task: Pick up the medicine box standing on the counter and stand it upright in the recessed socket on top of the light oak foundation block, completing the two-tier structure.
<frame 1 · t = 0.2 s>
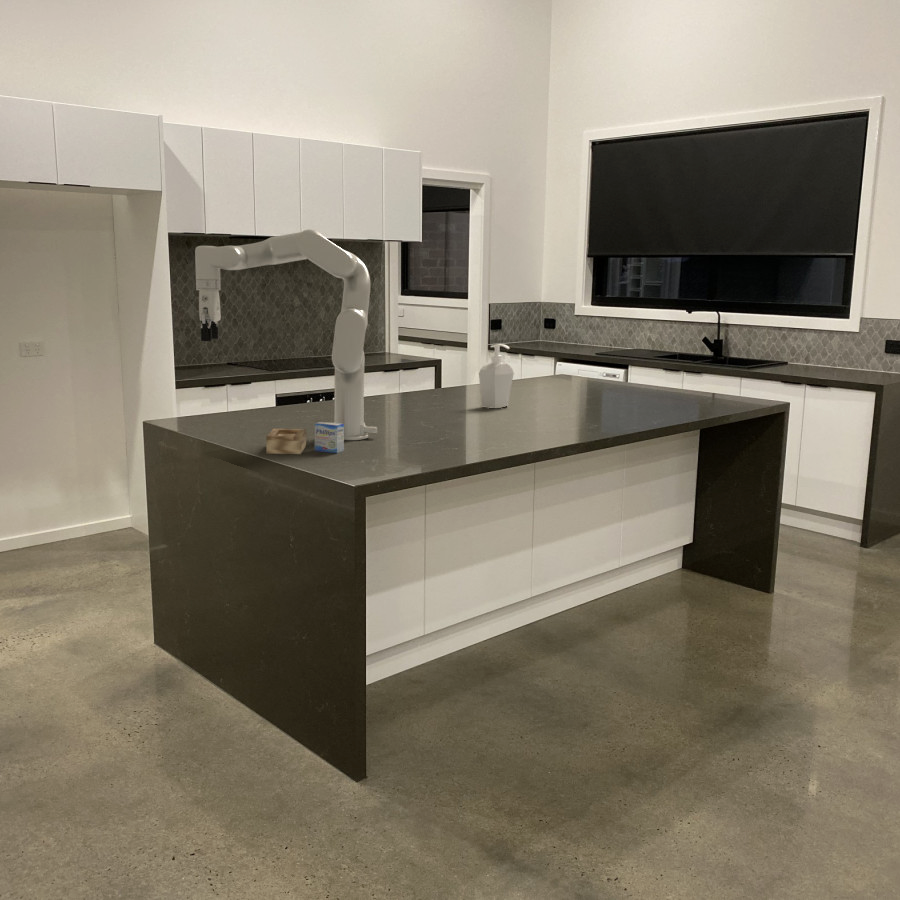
hand: (209, 339, 291), 31 cm above the table, fingers open, 9 cm apart
medicine box: (329, 451, 276), on the table
soap bottle: (496, 408, 370), on the table
oak foundation: (286, 449, 276), on the table
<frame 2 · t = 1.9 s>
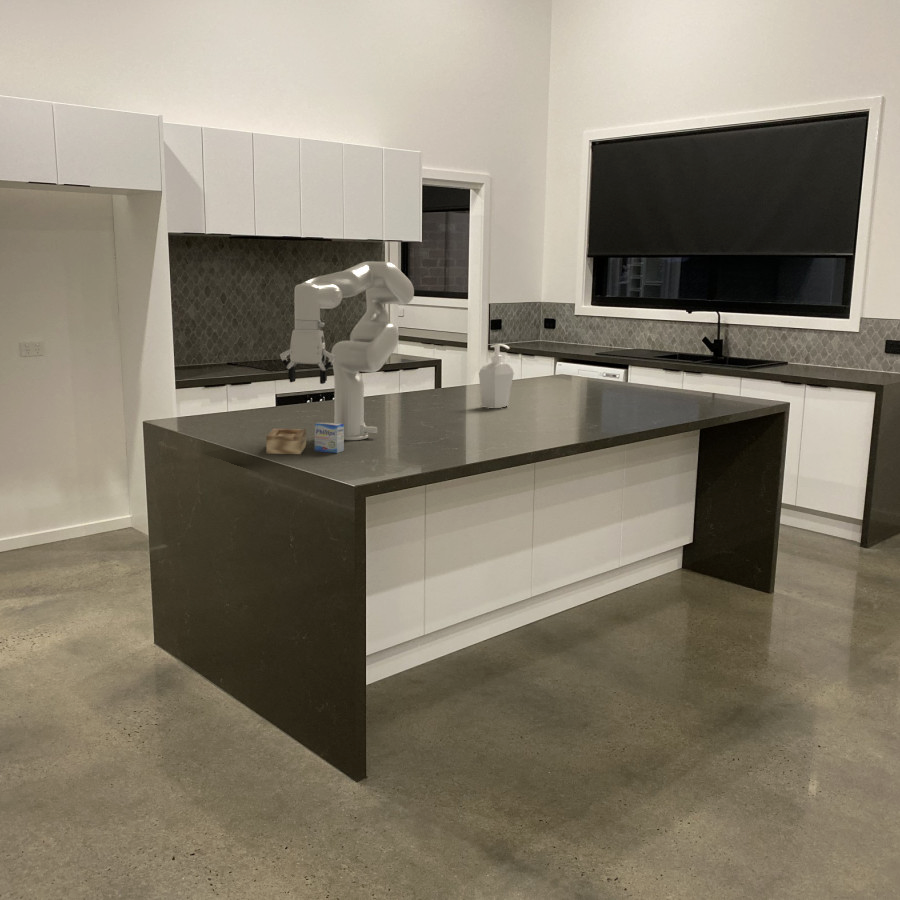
hand: (307, 382, 275), 20 cm above the table, fingers open, 9 cm apart
nothing on the table moved.
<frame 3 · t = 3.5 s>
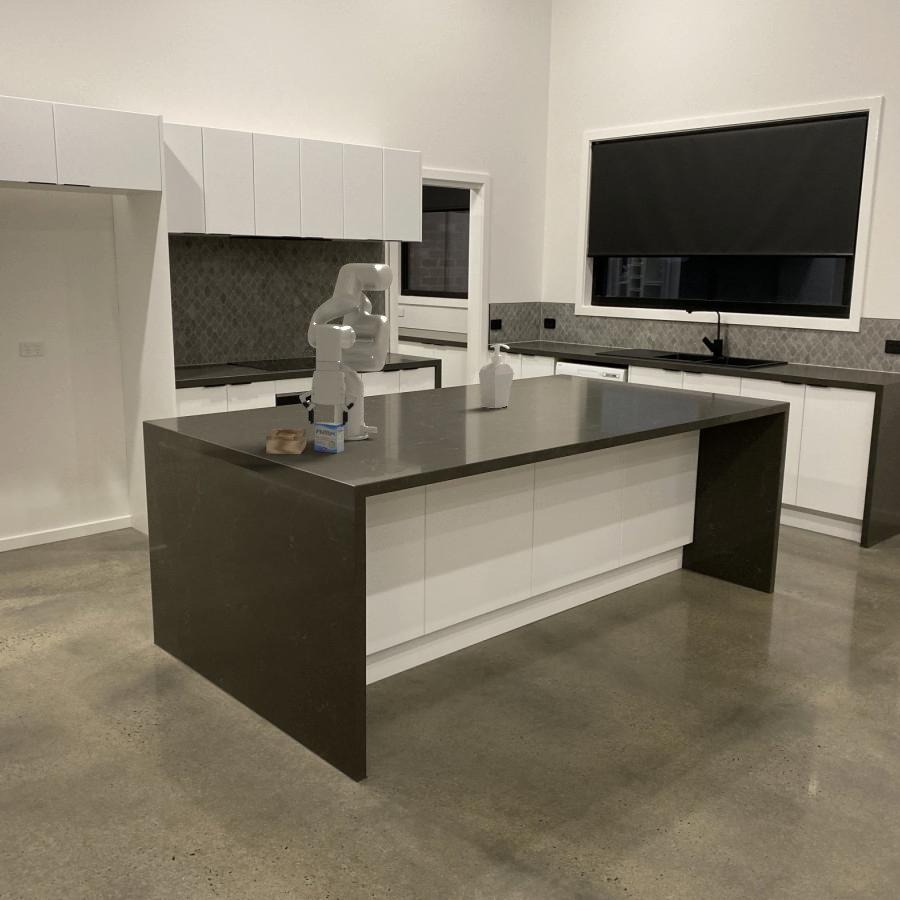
hand: (328, 424, 273), 9 cm above the table, fingers open, 9 cm apart
medicine box: (329, 451, 276), on the table, touching gripper
everything else where it was.
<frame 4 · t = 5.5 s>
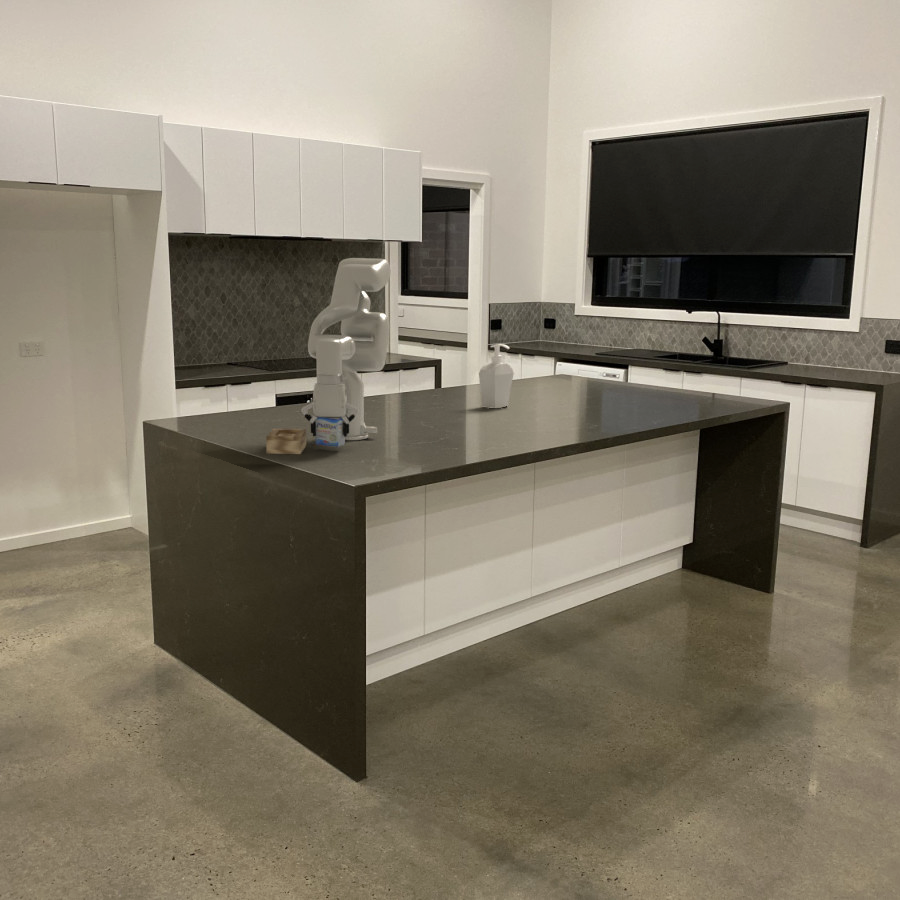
hand: (330, 435, 276), 5 cm above the table, fingers closed on medicine box, 9 cm apart
medicine box: (330, 445, 277), point 2 cm above the table, touching gripper
everything else where it was.
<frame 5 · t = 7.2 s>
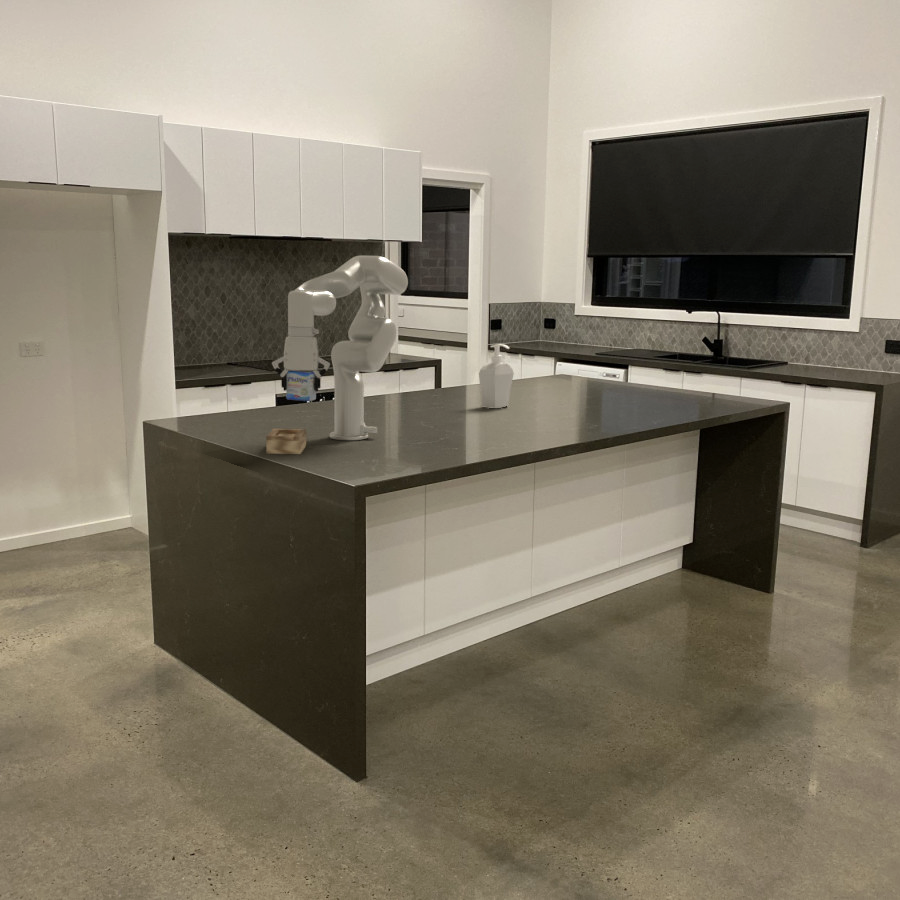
hand: (301, 390, 272), 18 cm above the table, fingers closed on medicine box, 9 cm apart
medicine box: (301, 400, 273), point 15 cm above the table, touching gripper
everything else where it was.
when the fingers open (8 cm above the table, at t = 10.1 s): medicine box stays where it is, resting on oak foundation.
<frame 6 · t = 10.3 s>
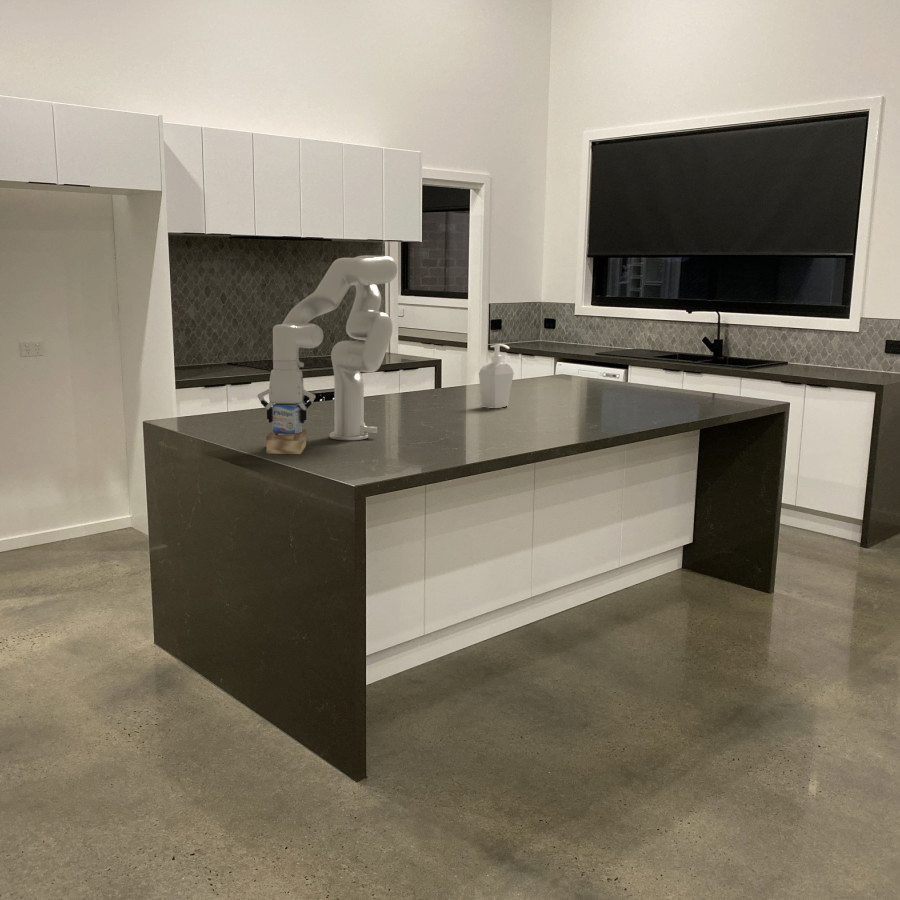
hand: (286, 422, 275), 8 cm above the table, fingers open, 9 cm apart
medicine box: (287, 433, 276), point 5 cm above the table, touching gripper, oak foundation
everything else where it was.
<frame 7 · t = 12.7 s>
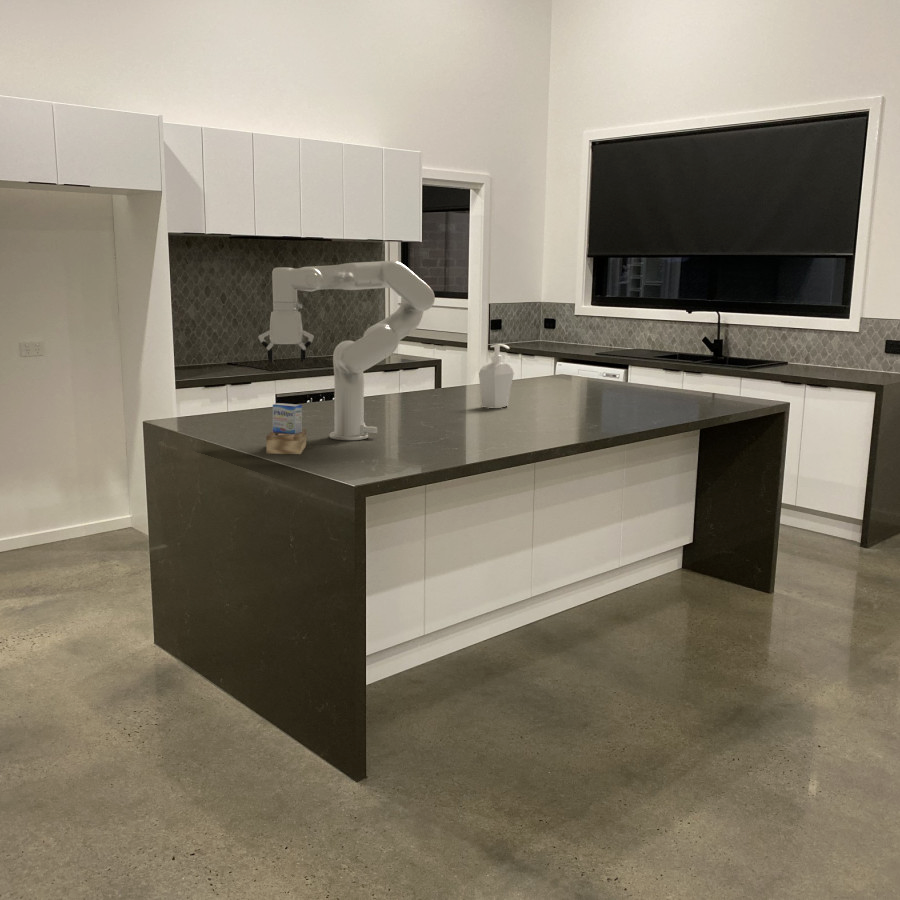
hand: (287, 362, 287), 25 cm above the table, fingers open, 9 cm apart
medicine box: (287, 433, 276), point 5 cm above the table, touching oak foundation
everything else where it was.
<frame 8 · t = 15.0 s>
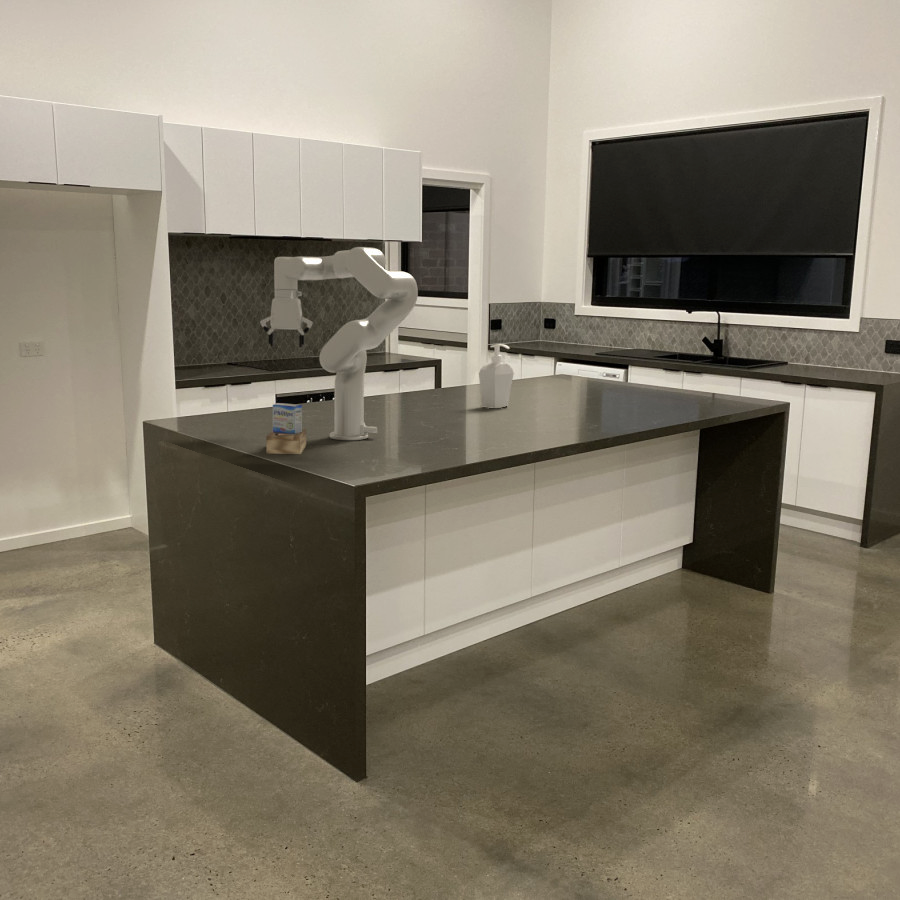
hand: (286, 346, 304), 28 cm above the table, fingers open, 9 cm apart
nothing on the table moved.
at the end: medicine box 0.4 cm off-centre on the oak foundation, point 5.0 cm above the oak foundation's base; medicine box tilted 0°; the gripper is holding nothing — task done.
